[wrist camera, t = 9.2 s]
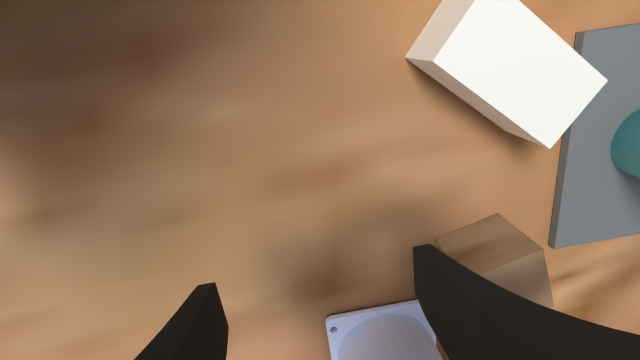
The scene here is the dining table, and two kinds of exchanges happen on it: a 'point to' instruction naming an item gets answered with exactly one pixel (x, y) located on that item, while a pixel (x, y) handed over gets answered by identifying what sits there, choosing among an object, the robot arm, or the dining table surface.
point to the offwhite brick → (507, 66)
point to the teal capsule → (627, 145)
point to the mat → (599, 147)
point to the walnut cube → (501, 257)
